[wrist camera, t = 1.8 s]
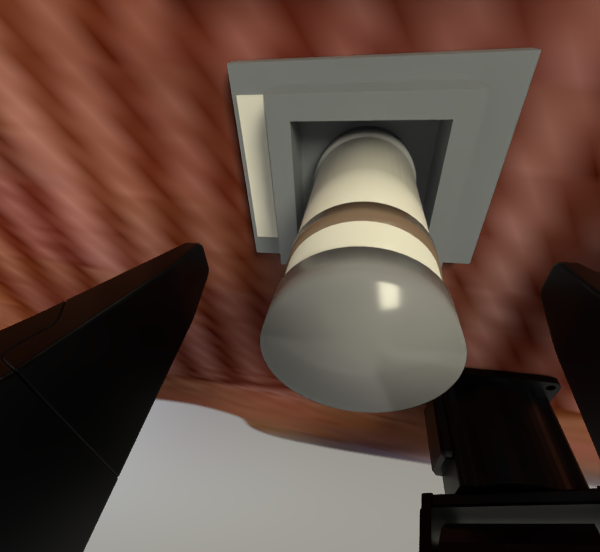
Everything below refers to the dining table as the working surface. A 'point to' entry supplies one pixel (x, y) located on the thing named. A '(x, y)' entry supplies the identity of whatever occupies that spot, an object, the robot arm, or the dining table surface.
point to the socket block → (388, 115)
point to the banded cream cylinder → (364, 287)
